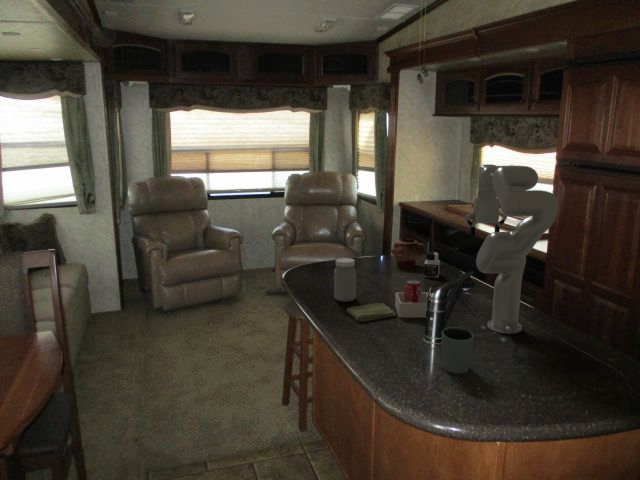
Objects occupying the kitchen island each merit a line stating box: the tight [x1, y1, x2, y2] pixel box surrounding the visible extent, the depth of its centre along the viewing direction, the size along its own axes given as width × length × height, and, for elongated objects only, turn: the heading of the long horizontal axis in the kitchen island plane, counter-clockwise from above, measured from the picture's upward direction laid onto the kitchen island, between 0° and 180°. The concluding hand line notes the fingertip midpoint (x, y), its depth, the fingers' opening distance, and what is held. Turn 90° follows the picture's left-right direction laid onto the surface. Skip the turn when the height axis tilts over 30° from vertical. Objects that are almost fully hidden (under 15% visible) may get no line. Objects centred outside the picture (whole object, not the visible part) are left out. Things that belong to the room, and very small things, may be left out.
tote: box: [394, 291, 429, 318], centre depth 221 cm, size 14×14×6 cm
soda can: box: [403, 279, 423, 303], centre depth 221 cm, size 7×7×12 cm
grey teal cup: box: [441, 326, 475, 375], centre depth 171 cm, size 10×10×12 cm
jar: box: [333, 257, 357, 303], centre depth 236 cm, size 10×10×18 cm
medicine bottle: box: [423, 251, 441, 279], centre depth 270 cm, size 7×7×12 cm
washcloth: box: [346, 302, 397, 323], centre depth 219 cm, size 13×18×3 cm
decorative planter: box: [390, 238, 428, 269], centre depth 289 cm, size 20×12×14 cm, turn 105°
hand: (484, 235), depth 222 cm, fingers open, 9 cm apart
